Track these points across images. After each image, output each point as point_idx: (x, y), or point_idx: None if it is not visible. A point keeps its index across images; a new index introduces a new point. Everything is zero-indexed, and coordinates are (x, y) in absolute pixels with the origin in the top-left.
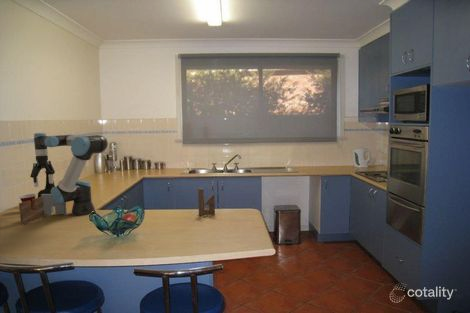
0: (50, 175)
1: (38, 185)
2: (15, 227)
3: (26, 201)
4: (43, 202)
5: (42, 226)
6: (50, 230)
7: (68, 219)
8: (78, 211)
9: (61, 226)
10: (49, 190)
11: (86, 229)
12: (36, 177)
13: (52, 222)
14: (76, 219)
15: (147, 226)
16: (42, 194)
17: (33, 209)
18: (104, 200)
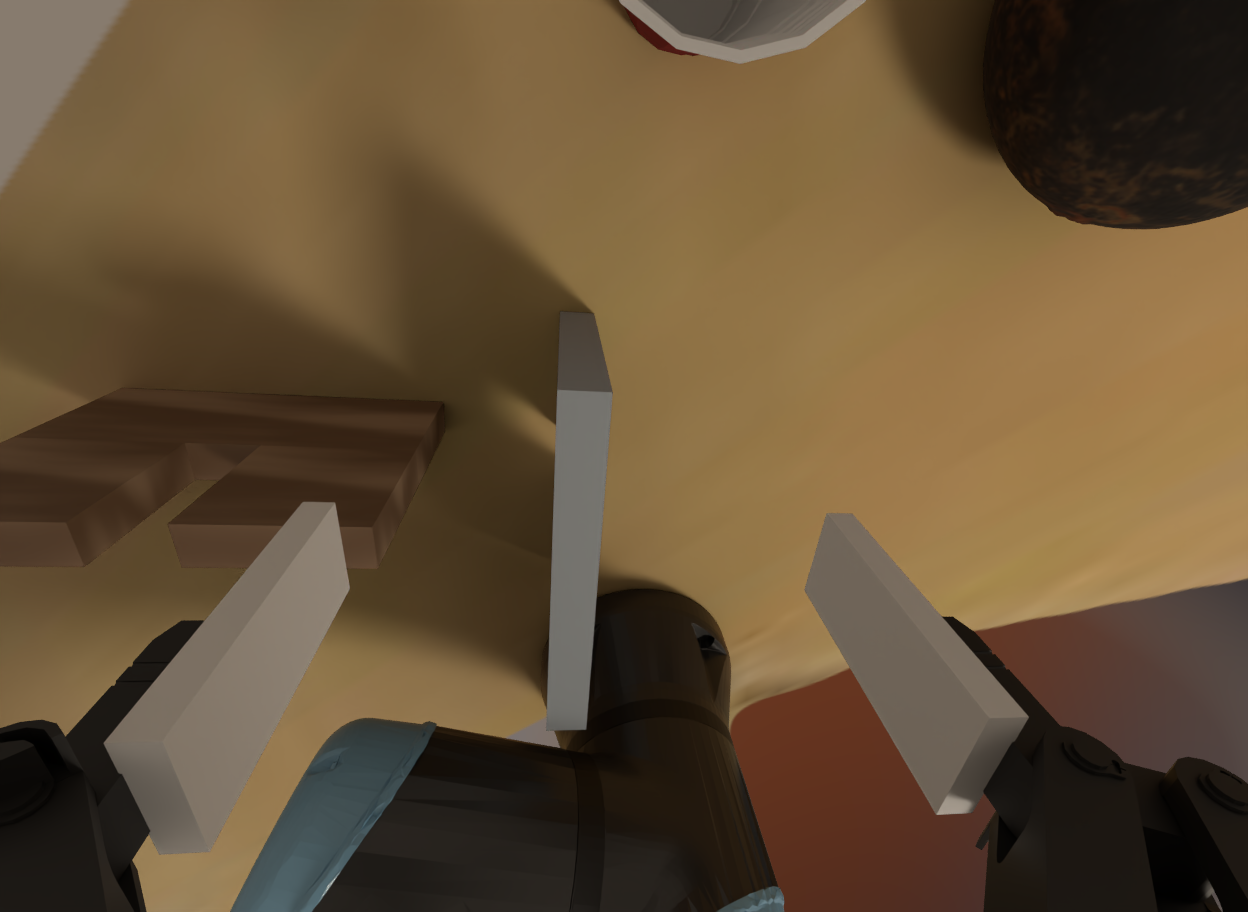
0: (932, 748)
1: (331, 617)
2: (27, 399)
3: (4, 541)
4: (401, 518)
5: (184, 611)
6: None
7: (428, 668)
8: (545, 705)
9: None
10: (1244, 43)
11: None
12: (119, 872)
13: None
14: (442, 716)
15: None
16: (565, 416)
17: (260, 451)
18: (1073, 588)
